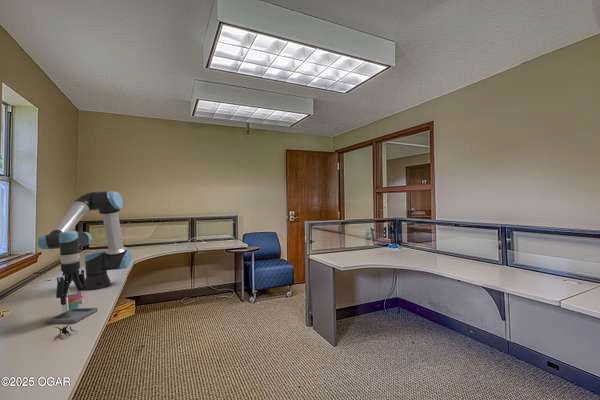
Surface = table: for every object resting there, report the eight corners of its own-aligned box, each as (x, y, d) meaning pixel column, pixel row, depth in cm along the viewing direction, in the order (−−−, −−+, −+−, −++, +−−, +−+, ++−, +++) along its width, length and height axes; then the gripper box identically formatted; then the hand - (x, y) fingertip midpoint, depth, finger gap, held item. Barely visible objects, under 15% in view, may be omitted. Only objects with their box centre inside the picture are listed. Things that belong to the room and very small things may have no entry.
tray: (72, 311, 155) (72, 308, 155) (97, 311, 154) (97, 307, 154) (48, 323, 141) (47, 319, 141) (75, 323, 140) (75, 319, 140)
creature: (79, 337, 128) (74, 328, 133) (79, 326, 127) (74, 318, 132) (57, 345, 122) (51, 336, 126) (57, 333, 121) (51, 324, 126)
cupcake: (58, 312, 142) (57, 288, 142) (67, 306, 150) (65, 283, 150) (79, 310, 144) (77, 286, 144) (86, 304, 152) (85, 281, 152)
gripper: (80, 257, 157) (83, 299, 158) (43, 267, 136) (46, 315, 137) (93, 257, 157) (96, 299, 157) (58, 267, 136) (61, 315, 136)
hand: (73, 306), depth 147 cm, fingers closed on cupcake, 8 cm apart
